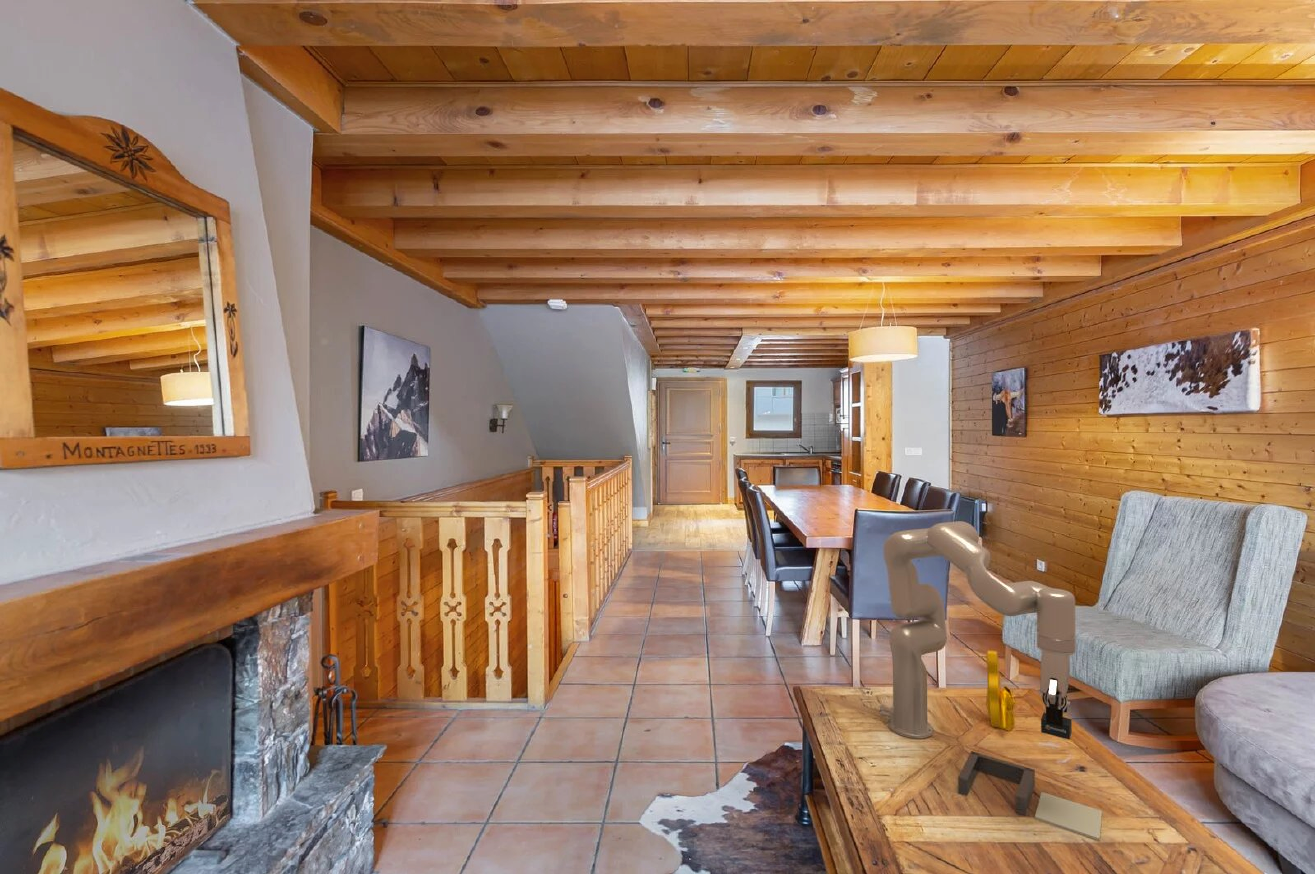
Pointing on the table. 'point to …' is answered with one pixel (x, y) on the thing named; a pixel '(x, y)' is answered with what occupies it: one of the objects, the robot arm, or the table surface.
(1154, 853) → the table surface
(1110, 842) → the table surface
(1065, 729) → the watch
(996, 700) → the figure statuette
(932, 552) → the robot arm
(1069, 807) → the sage mat
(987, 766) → the u-shaped metal bracket
